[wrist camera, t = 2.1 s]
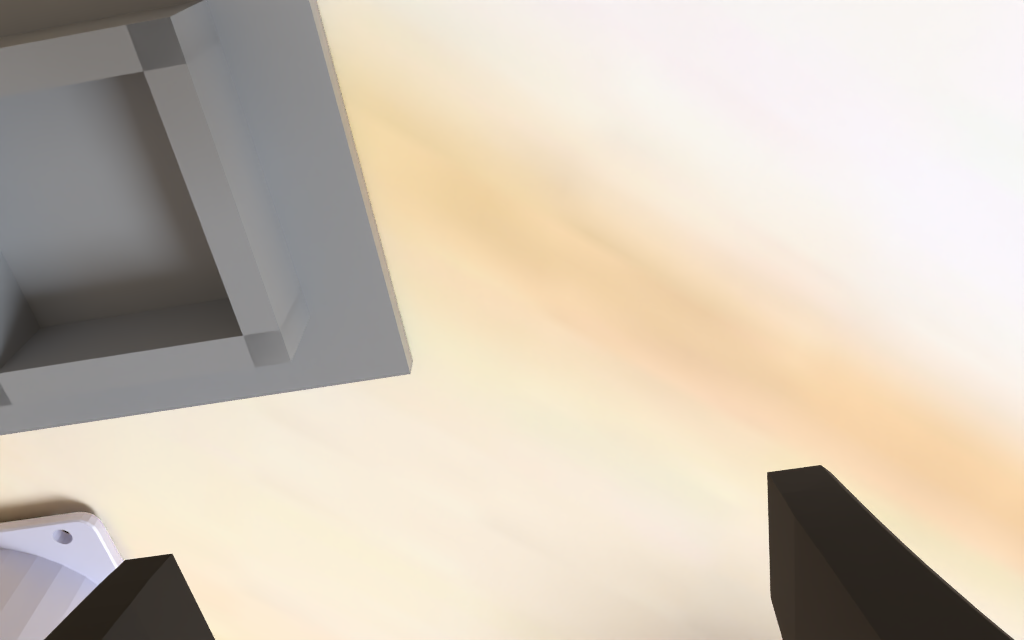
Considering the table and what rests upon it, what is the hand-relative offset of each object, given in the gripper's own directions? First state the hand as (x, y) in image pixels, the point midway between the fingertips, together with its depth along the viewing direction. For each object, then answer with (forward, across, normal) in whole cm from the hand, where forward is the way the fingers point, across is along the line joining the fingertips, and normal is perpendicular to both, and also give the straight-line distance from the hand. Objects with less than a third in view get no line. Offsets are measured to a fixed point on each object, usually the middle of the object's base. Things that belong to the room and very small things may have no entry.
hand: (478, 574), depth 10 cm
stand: (+10, +8, -2) cm, 13 cm away
